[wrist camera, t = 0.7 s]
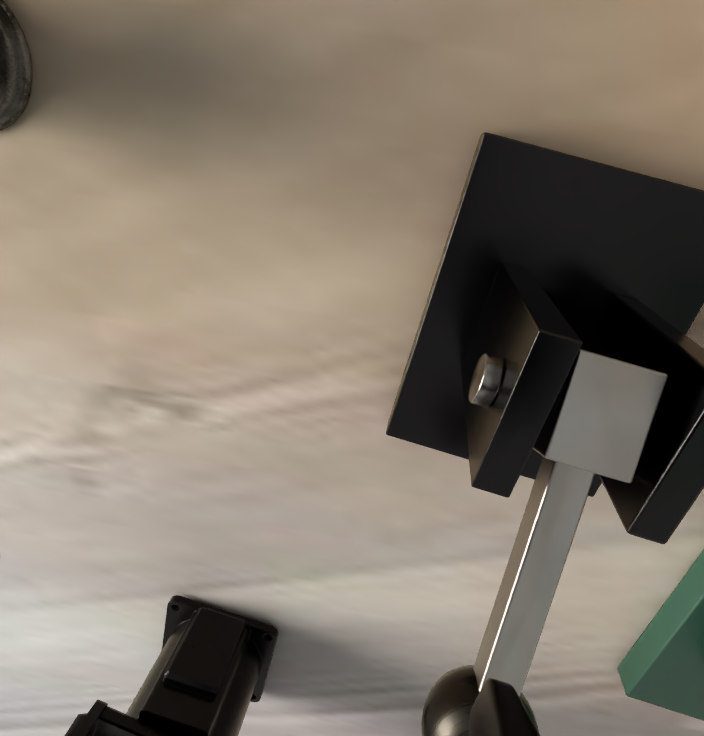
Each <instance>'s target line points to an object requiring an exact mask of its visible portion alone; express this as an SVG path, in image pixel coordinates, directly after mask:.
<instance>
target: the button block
mask: <svg viewBox="0 0 704 736" xmlns="http://www.w3.org/2000/svg"><path fill="white" fill-rule="evenodd" d="M618 672H619V675H620V678H621V681H622V684H623V687H624V689H625V692H626V695H627V696H629V697H632V698H635V699H638V700H641V701H644V702H647V703H650V704H654V705H657V706H660V707H663V708H666V709H669V710H672V711H675V712H678V713H682V714H685V715H688V716H691V717H694V718H697V719H700V720H703V721H704V550H703V551H702V553H701V554H700V556H699V557H698V558H697V560H696V561H695V562H694V564H693V565H692V567H691V568H690V569H689V571H688V572H687V573H686V575H685V576H684V578H683V579H682V580H681V582H680V583H679V584H678V586H677V587H676V588H675V590H674V591H673V593H672V594H671V595H670V597H669V598H668V599H667V601H666V602H665V604H664V605H663V606H662V608H661V609H660V610H659V612H658V613H657V615H656V616H655V617H654V619H653V620H652V621H651V623H650V624H649V625H648V627H647V628H646V630H645V631H644V632H643V634H642V635H641V636H640V638H639V639H638V641H637V642H636V643H635V645H634V646H633V647H632V649H631V650H630V651H629V653H628V654H627V656H626V657H625V658H624V660H623V661H622V662H621V664H620V665H619V667H618Z"/></svg>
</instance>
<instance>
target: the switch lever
mask: <svg viewBox="0 0 704 736" xmlns="http://www.w3.org/2000/svg"><path fill="white" fill-rule="evenodd" d="M667 379H668V375H667V374H666V373H662V372H659V371H655V370H652V369H648V368H645V367H641V366H638V365H634V364H631V363H628V362H624V361H621V360H617V359H614V358H610V357H607V356H603V355H600V354H596V353H593V352H589V351H586V350H582V349H580V350H579V352H578V355H577V357H576V359H575V361H574V363H573V365H572V367H571V369H570V371H569V373H568V375H567V378H566V380H565V382H564V384H563V386H562V388H561V390H560V392H559V394H558V396H557V398H556V400H555V403H554V405H553V407H552V409H551V411H550V413H549V415H548V417H547V419H546V421H545V423H544V426H543V428H542V430H541V432H540V434H539V436H538V438H537V440H536V442H535V444H534V446H533V449H534V450H535V451H537V452H538V453H539V454H541V455H542V456H543V458H542V461H541V464H540V467H539V470H538V473H537V476H536V479H535V482H534V485H533V488H532V491H531V494H530V497H529V500H528V503H527V506H526V510H525V513H524V516H523V519H522V522H521V525H520V528H519V531H518V534H517V537H516V540H515V543H514V546H513V549H512V552H511V555H510V558H509V561H508V564H507V567H506V570H505V573H504V576H503V579H502V582H501V585H500V588H499V591H498V595H497V598H496V601H495V604H494V607H493V610H492V613H491V616H490V619H489V622H488V625H487V628H486V631H485V634H484V637H483V640H482V643H481V646H480V649H479V652H478V655H477V658H476V661H475V664H474V665H468V666H462V667H458V668H455V669H453V670H451V671H449V672H447V673H446V674H444V675H443V676H442V677H441V678H440V679H439V680H438V681H437V682H436V683H435V685H434V686H433V687H432V689H431V690H430V692H429V694H428V697H427V699H426V702H425V705H424V709H423V714H422V736H469V719H470V713H471V709H472V706H473V704H474V702H475V700H476V698H477V696H478V694H479V693H480V691H481V689H482V687H483V685H484V683H485V681H486V680H487V679H489V678H493V679H497V680H500V681H503V682H506V683H509V684H511V685H512V686H513V687H514V688H515V690H516V692H517V694H518V695H519V697H520V699H521V701H522V703H523V705H524V707H525V708H526V710H527V712H528V714H529V716H530V718H531V720H532V721H533V723H534V725H535V727H536V729H537V731H538V726H537V723H536V720H535V716H534V714H533V711H532V709H531V707H530V705H529V703H528V701H527V700H526V698H525V697H524V695H523V694H522V692H521V691H522V688H523V685H524V682H525V679H526V676H527V673H528V670H529V667H530V665H531V662H532V659H533V656H534V653H535V650H536V647H537V644H538V641H539V638H540V635H541V632H542V629H543V626H544V623H545V620H546V617H547V614H548V611H549V609H550V606H551V603H552V600H553V597H554V594H555V591H556V588H557V585H558V582H559V579H560V576H561V573H562V570H563V567H564V564H565V561H566V558H567V555H568V553H569V550H570V547H571V544H572V541H573V538H574V535H575V532H576V529H577V526H578V523H579V520H580V517H581V514H582V511H583V508H584V505H585V502H586V499H587V497H588V494H589V491H590V488H591V485H592V482H593V479H594V476H595V473H596V474H599V475H602V476H606V477H609V478H612V479H616V480H619V481H622V482H626V483H631V482H632V480H633V477H634V474H635V471H636V468H637V465H638V462H639V460H640V457H641V454H642V451H643V448H644V445H645V442H646V439H647V436H648V434H649V431H650V428H651V425H652V422H653V419H654V416H655V413H656V410H657V408H658V405H659V402H660V399H661V396H662V393H663V390H664V387H665V384H666V382H667ZM538 733H539V732H538Z"/></svg>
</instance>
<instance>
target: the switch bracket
mask: <svg viewBox="0 0 704 736" xmlns="http://www.w3.org/2000/svg"><path fill="white" fill-rule="evenodd" d="M703 303H704V191H703V190H699V189H695V188H692V187H688V186H684V185H680V184H677V183H673V182H669V181H666V180H662V179H658V178H654V177H651V176H647V175H643V174H639V173H636V172H632V171H628V170H625V169H621V168H617V167H613V166H610V165H606V164H602V163H599V162H595V161H591V160H587V159H584V158H580V157H576V156H572V155H569V154H565V153H561V152H558V151H554V150H550V149H546V148H543V147H539V146H535V145H532V144H528V143H524V142H520V141H517V140H513V139H509V138H506V137H502V136H498V135H494V134H491V133H487V132H485V133H483V134H481V136H480V139H479V142H478V145H477V148H476V151H475V154H474V157H473V160H472V164H471V167H470V170H469V173H468V176H467V179H466V182H465V185H464V188H463V191H462V195H461V198H460V201H459V204H458V207H457V210H456V213H455V216H454V219H453V222H452V226H451V229H450V232H449V235H448V238H447V241H446V244H445V247H444V250H443V253H442V257H441V260H440V263H439V266H438V269H437V272H436V275H435V278H434V281H433V284H432V288H431V291H430V294H429V297H428V300H427V303H426V306H425V309H424V312H423V315H422V319H421V322H420V325H419V328H418V331H417V334H416V337H415V340H414V343H413V346H412V349H411V353H410V356H409V359H408V362H407V365H406V368H405V371H404V374H403V377H402V380H401V384H400V387H399V390H398V393H397V396H396V399H395V402H394V405H393V408H392V411H391V415H390V418H389V421H388V426H387V431H386V434H387V435H389V436H393V437H396V438H399V439H403V440H406V441H409V442H413V443H416V444H419V445H423V446H426V447H429V448H432V449H436V450H439V451H442V452H446V453H449V454H452V455H456V456H459V457H462V458H466V459H469V462H470V473H471V485H472V487H475V488H478V489H481V490H484V491H488V492H491V493H494V494H498V495H501V496H504V497H509V496H510V494H511V492H512V490H513V488H514V486H515V484H516V482H517V480H518V478H519V476H520V475H522V476H525V477H528V478H532V479H536V476H537V473H538V470H539V467H540V464H541V461H542V458H543V456H542V455H541V454H539V453H538V452H537V451H535V450H534V449H533V446H534V444H535V442H536V440H537V438H538V436H539V434H540V432H541V430H542V428H543V426H544V423H545V421H546V419H547V417H548V415H549V413H550V411H551V409H552V407H553V405H554V403H555V400H556V398H557V396H558V394H559V392H560V390H561V388H562V386H563V384H564V382H565V380H566V378H567V375H568V373H569V371H570V369H571V367H572V365H573V363H574V361H575V359H576V357H577V355H578V352H579V350H580V349H582V350H586V351H589V352H593V353H596V354H600V355H603V356H607V357H610V358H614V359H617V360H621V361H624V362H628V363H631V364H634V365H638V366H641V367H645V368H648V369H652V370H655V371H659V372H662V373H666V374H667V375H668V379H667V382H666V384H665V387H664V390H663V393H662V396H661V399H660V402H659V405H658V408H657V410H656V413H655V416H654V419H653V422H652V425H651V428H650V431H649V434H648V436H647V439H646V442H645V445H644V448H643V451H642V454H641V457H640V460H639V462H638V465H637V468H636V471H635V474H634V477H633V480H632V482H631V483H626V482H622V481H619V480H616V479H612V478H609V477H606V476H602V475H599V474H596V473H595V476H594V479H593V482H592V485H591V488H590V491H589V494H588V496H591V497H593V496H594V495H595V493H596V491H597V489H598V488H599V486H600V484H601V482H603V484H604V486H605V488H606V491H607V493H608V495H609V497H610V499H611V501H612V503H613V505H614V507H615V509H616V511H617V513H618V515H619V517H620V519H621V521H622V523H623V525H624V527H625V529H626V531H627V532H628V533H629V534H631V535H634V536H637V537H641V538H644V539H647V540H651V541H654V542H657V543H660V544H665V543H666V542H667V541H668V539H669V538H670V537H671V535H672V534H673V532H674V531H675V529H676V528H677V526H678V525H679V523H680V522H681V520H682V519H683V517H684V516H685V515H686V513H687V512H688V510H689V509H690V507H691V506H692V504H693V503H694V501H695V500H696V498H697V497H698V495H699V494H700V493H701V491H702V490H703V488H704V349H703V348H702V347H701V346H699V345H698V344H697V343H695V342H694V341H693V340H691V339H690V338H688V337H687V336H686V333H687V331H688V330H689V328H690V326H691V324H692V323H693V321H694V319H695V317H696V316H697V314H698V312H699V310H700V309H701V307H702V305H703Z"/></svg>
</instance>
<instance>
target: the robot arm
mask: <svg viewBox="0 0 704 736" xmlns="http://www.w3.org/2000/svg"><path fill="white" fill-rule="evenodd" d="M277 637H278V631H277V629H276V628H275V627H273V626H271V625H268V624H265V623H261V622H258V621H255V620H252V619H249V618H246V617H243V616H240V615H237V614H234V613H231V612H228V611H225V610H222V609H219V608H215V607H212V606H209V605H206V604H203V603H200V602H197V601H194V600H191V599H188V598H185V597H182V596H177V595H176V596H173V597H172V598H171V600H170V601H169V603H168V607H167V615H166V623H165V631H164V638H163V646H162V651H161V653H160V655H159V656H158V658H157V660H156V662H155V664H154V665H153V667H152V669H151V671H150V672H149V674H148V676H147V678H146V680H145V681H144V683H143V685H142V687H141V688H140V690H139V692H138V694H137V696H136V697H135V699H134V701H133V703H132V704H131V706H130V708H129V710H128V712H127V713H126V714H124V713H122V712H119V711H117V710H115V709H113V708H110V707H108V706H107V705H108V704H107V703H105V702H103V701H100V700H97V701H96V702H95V704H94V705H93V706H92V708H91V709H90V711H89V712H88V713H87V714H79V715H78V716H77V718H76V719H75V721H74V722H73V724H72V725H71V727H70V728H69V730H68V731H67V733H66V734H65V736H238V734H239V731H240V728H241V726H242V723H243V720H244V717H245V714H246V711H247V708H248V706H249V703H250V701H251V702H258V701H259V700H260V698H261V695H262V692H263V688H264V685H265V681H266V677H267V674H268V670H269V666H270V663H271V659H272V655H273V651H274V648H275V644H276V640H277ZM469 736H540V734H539V733H538V731H537V729H536V727H535V725H534V723H533V721H532V720H531V718H530V716H529V714H528V712H527V710H526V708H525V707H524V705H523V703H522V701H521V699H520V697H519V695H518V694H517V692H516V690H515V688H514V687H513V686H512V685H511V684H509V683H506V682H503V681H500V680H497V679H493V678H489V679H487V680H486V681H485V683H484V685H483V687H482V689H481V691H480V693H479V694H478V696H477V698H476V700H475V702H474V704H473V706H472V709H471V713H470V719H469Z"/></svg>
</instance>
